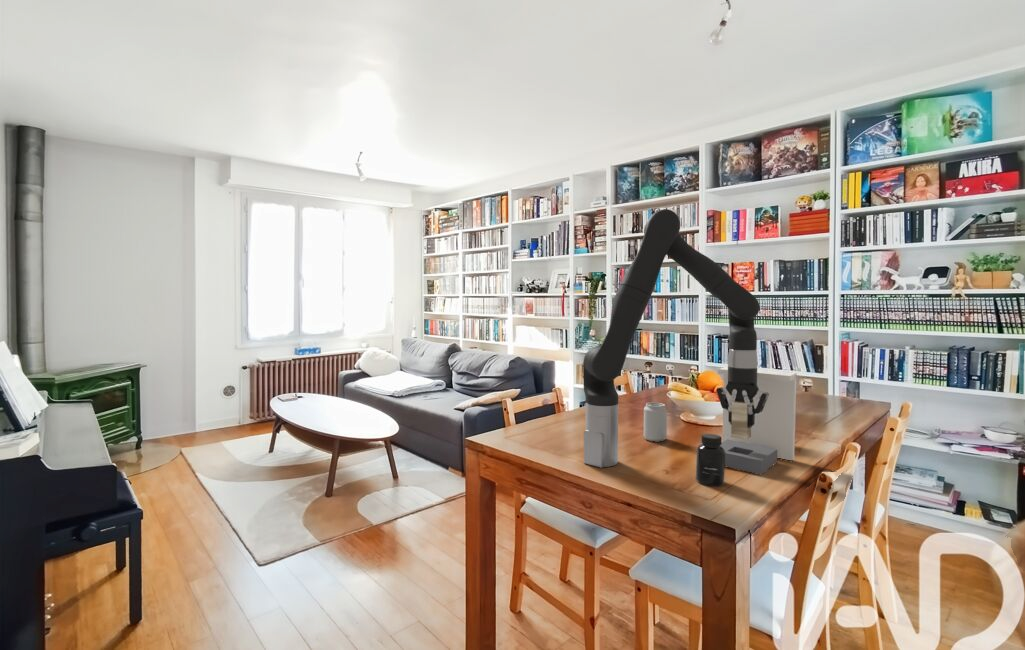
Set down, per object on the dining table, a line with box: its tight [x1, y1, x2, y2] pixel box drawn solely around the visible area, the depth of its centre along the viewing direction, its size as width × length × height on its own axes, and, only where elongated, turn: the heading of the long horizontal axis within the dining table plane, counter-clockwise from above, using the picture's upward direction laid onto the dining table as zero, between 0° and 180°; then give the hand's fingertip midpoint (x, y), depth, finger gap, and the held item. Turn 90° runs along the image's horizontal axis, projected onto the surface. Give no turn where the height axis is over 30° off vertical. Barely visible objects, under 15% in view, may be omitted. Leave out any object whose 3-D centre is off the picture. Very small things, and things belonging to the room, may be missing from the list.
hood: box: [717, 366, 798, 461], centre depth 149 cm, size 6×20×26 cm, turn 47°
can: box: [643, 402, 668, 443], centre depth 167 cm, size 8×8×12 cm
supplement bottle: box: [695, 433, 726, 487], centre depth 128 cm, size 7×7×12 cm
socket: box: [720, 439, 778, 475], centre depth 143 cm, size 14×14×4 cm
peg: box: [731, 401, 751, 439], centre depth 141 cm, size 4×4×10 cm
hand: (741, 425), depth 141 cm, fingers closed on peg, 4 cm apart
